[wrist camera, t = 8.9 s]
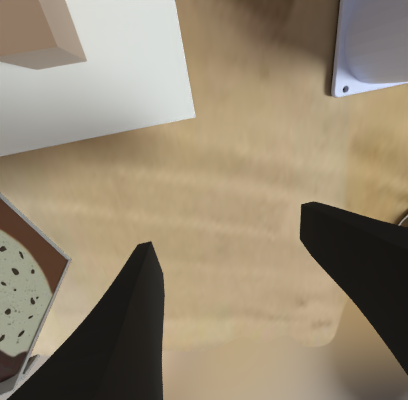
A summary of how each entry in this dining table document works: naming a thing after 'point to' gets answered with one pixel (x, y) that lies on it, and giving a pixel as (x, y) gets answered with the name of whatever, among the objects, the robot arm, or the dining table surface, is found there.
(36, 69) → the cover sheet
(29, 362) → the food container
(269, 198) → the dining table surface
